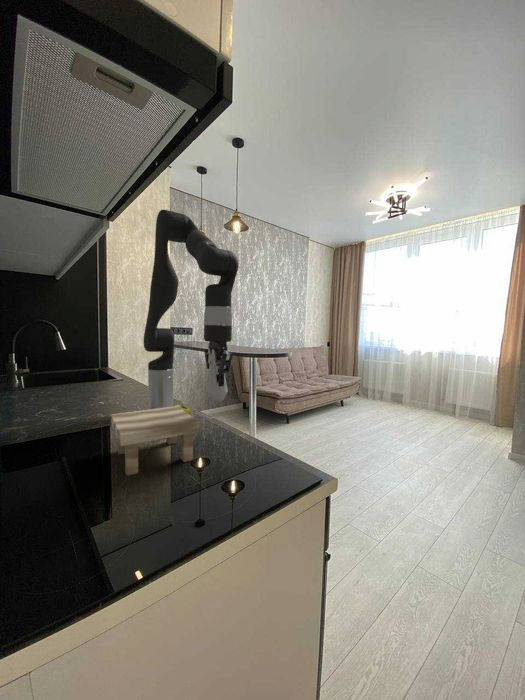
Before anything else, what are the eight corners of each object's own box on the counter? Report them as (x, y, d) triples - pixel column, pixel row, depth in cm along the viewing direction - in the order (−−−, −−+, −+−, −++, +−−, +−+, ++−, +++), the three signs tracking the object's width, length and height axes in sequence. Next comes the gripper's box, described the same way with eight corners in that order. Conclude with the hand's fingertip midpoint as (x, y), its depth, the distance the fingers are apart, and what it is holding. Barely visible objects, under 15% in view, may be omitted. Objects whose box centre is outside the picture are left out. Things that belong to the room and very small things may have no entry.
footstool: (111, 450, 79) (110, 414, 78) (177, 438, 89) (177, 405, 88) (121, 480, 64) (120, 435, 63) (199, 460, 74) (199, 422, 73)
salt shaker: (215, 395, 85) (216, 351, 84) (231, 398, 82) (232, 352, 81) (201, 399, 80) (202, 352, 79) (218, 403, 77) (218, 354, 76)
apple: (159, 429, 92) (165, 398, 95) (174, 429, 100) (180, 400, 102) (180, 433, 90) (186, 401, 92) (194, 433, 97) (199, 403, 99)
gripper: (195, 323, 83) (194, 383, 84) (216, 323, 71) (215, 393, 73) (219, 324, 87) (218, 381, 88) (242, 324, 75) (241, 390, 77)
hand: (217, 386), depth 81 cm, fingers closed on salt shaker, 3 cm apart
